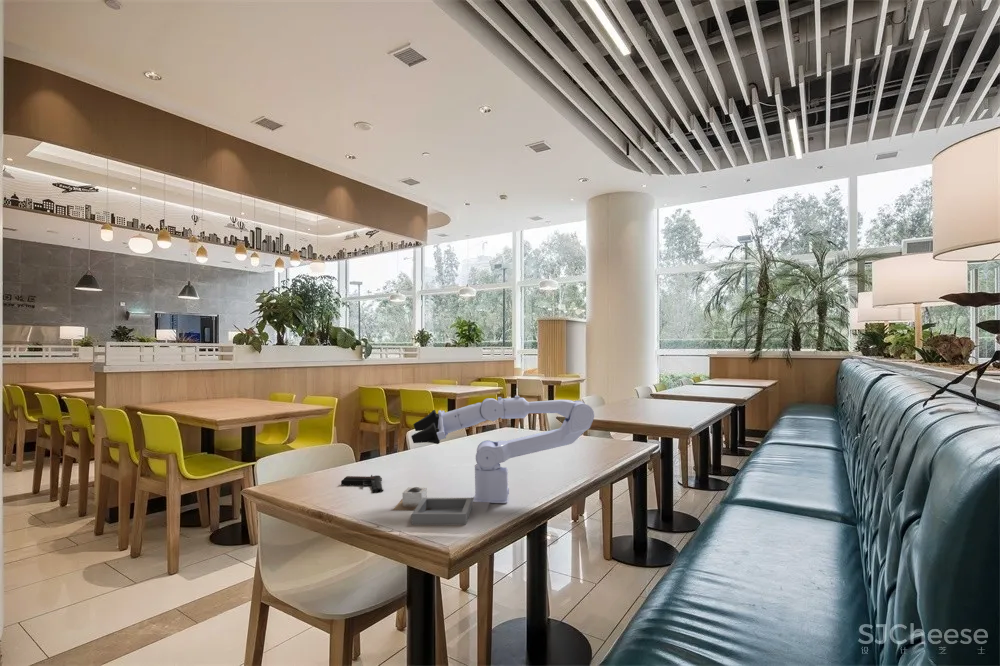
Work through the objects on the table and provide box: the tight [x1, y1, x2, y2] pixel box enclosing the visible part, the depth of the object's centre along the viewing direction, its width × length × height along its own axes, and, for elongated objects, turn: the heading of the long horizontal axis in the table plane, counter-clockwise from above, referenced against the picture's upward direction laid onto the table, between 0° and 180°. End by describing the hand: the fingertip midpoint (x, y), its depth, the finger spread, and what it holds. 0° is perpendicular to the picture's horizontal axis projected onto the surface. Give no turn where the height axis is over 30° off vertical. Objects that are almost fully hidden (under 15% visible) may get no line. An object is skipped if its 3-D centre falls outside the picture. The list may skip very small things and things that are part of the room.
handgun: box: [340, 474, 385, 494], centre depth 153 cm, size 2×18×12 cm
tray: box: [411, 497, 473, 526], centre depth 124 cm, size 13×13×3 cm
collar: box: [401, 487, 428, 507], centre depth 134 cm, size 5×5×4 cm
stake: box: [392, 486, 431, 511], centre depth 134 cm, size 10×10×5 cm
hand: (413, 433), depth 139 cm, fingers open, 7 cm apart
